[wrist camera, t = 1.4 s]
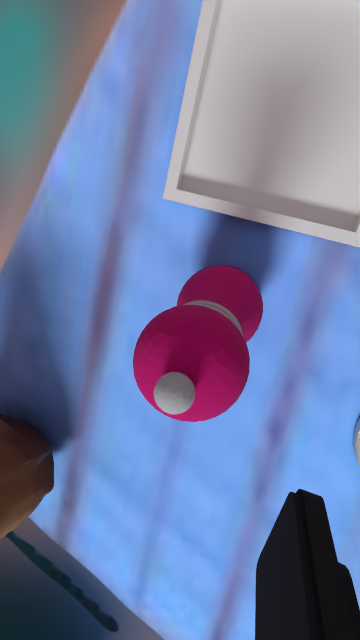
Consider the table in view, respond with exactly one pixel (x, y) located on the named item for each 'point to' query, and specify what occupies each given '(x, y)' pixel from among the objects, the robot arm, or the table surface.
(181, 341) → the pepper mill
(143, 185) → the table surface
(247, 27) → the tray
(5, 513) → the butternut squash
